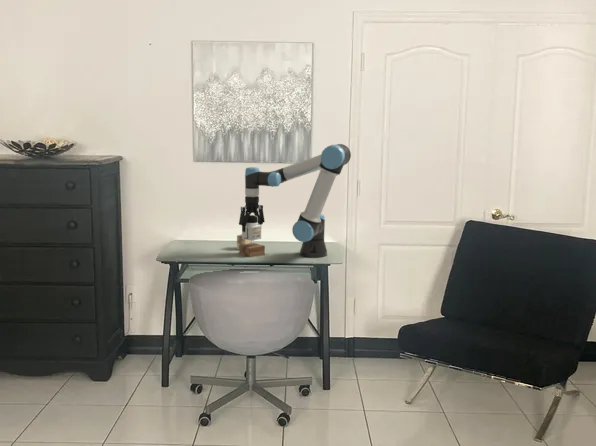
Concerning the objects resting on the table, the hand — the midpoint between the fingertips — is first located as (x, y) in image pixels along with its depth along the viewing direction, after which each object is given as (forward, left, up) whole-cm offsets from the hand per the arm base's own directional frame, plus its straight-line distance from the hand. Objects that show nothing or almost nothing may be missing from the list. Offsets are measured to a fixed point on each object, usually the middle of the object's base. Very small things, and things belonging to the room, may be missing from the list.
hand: (251, 236), depth 351 cm
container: (0, 0, -2) cm, 2 cm away
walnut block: (0, 0, -10) cm, 10 cm away
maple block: (+14, -5, -10) cm, 18 cm away
